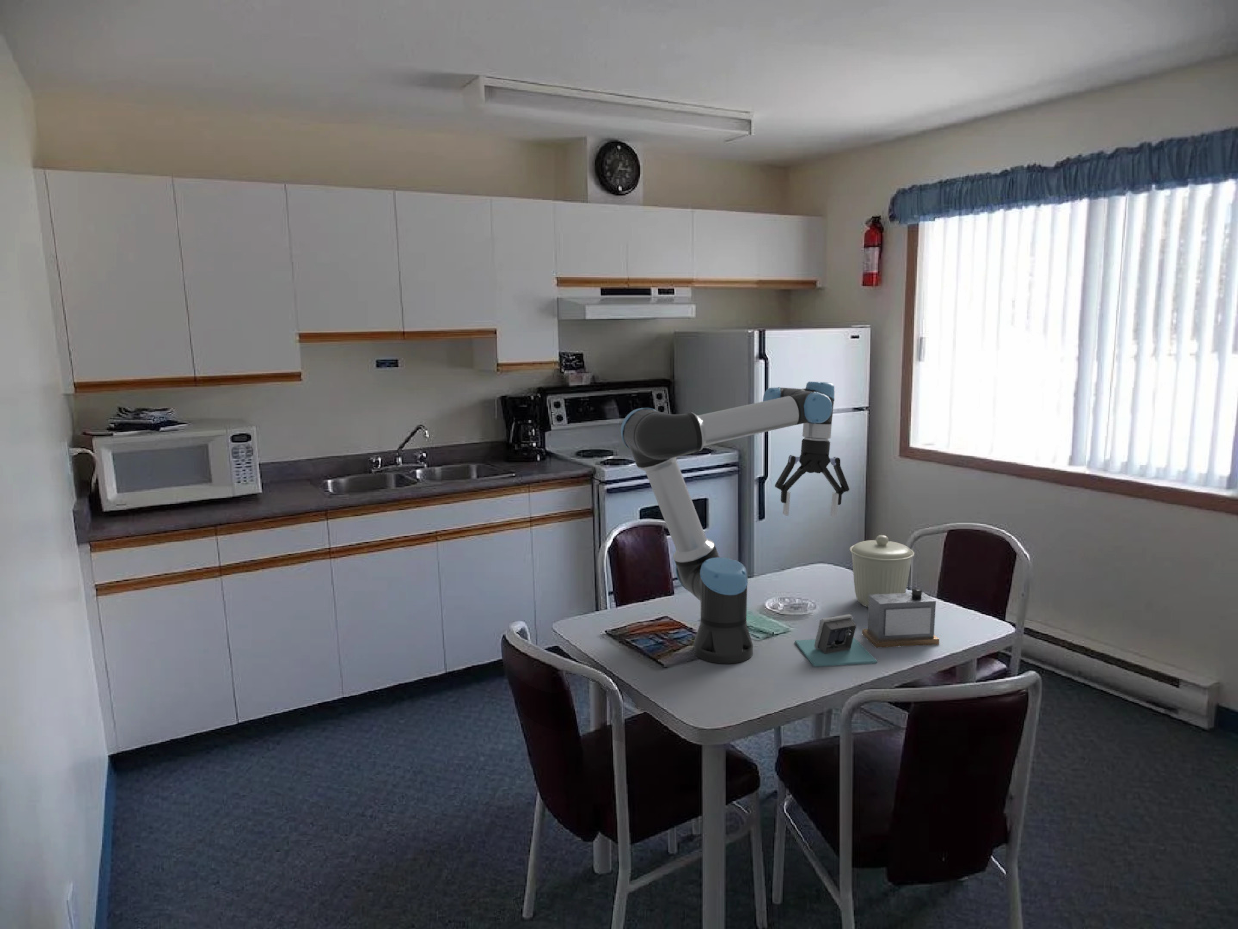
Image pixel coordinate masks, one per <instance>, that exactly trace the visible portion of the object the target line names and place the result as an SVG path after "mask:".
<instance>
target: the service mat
mask: <svg viewBox="0 0 1238 929" xmlns="http://www.w3.org/2000/svg"><path fill="white" fill-rule="evenodd" d="M815 641H816V638H815V639H814V638H813V639H797V640H796V639H795V640H794V644H797V645H796V646H797V647H798V648H799V650H800V651H801V652H802V654H803V655H804V656H805V658H806V659H807V660H808V661H809V662H810V664H811V665H812V666H813V667H814V668H815V667H817V668H818V667H827V666H828V667H830V666H831V667H832V666H833V667H834V666H850V665H867V664H868V665H869V664H877V663H878V660H877V659H876V658H875V657H874V656H873V655H872V654H871V653H870V652H869V651H868V650H867V649H866V648H865V647H864V646H863V645H862V643H860V642H859V641H858V640H857V639H856V637H853V641H852V645H851V648H850V650H845V651H840V652H834V653H829V654H824V653H823V651H821V650H820V649H819V650H816V648H815V647H814V645H815ZM833 648H834V649H835V647H833ZM831 649H832V648H831Z"/></svg>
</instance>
